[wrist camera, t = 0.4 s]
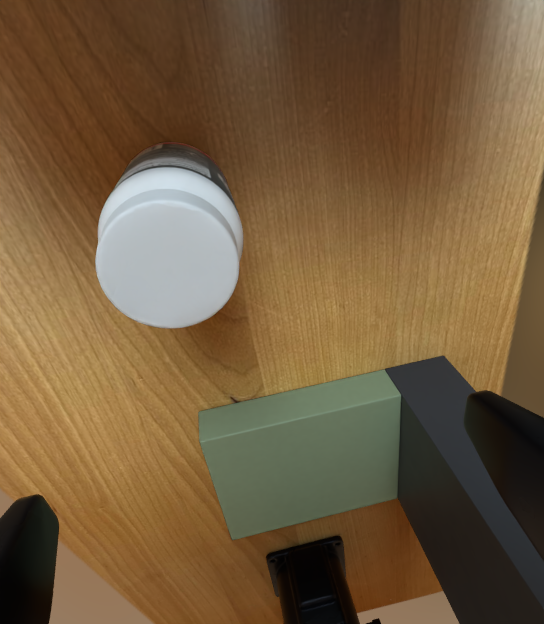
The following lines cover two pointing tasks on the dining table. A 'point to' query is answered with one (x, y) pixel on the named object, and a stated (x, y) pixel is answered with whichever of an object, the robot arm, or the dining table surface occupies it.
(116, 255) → the pill bottle
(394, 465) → the storage rack
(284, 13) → the dining table surface
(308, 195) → the dining table surface
